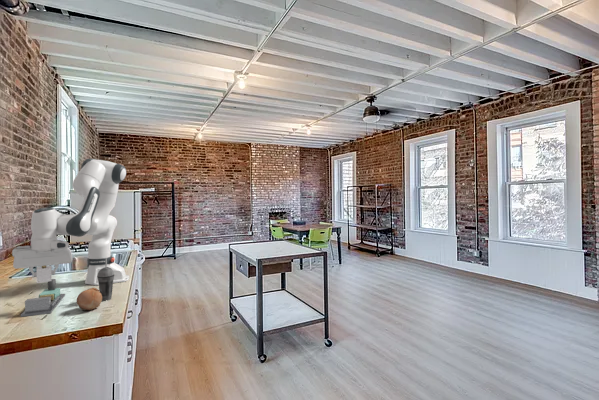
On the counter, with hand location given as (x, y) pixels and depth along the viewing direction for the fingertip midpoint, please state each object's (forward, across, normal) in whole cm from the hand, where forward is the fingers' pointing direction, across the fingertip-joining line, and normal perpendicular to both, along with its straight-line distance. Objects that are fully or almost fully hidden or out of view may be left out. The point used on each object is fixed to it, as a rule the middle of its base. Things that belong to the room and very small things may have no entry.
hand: (44, 275), depth 138 cm
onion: (+15, +16, -13) cm, 25 cm away
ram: (+14, +2, +13) cm, 19 cm away
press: (+15, 0, +5) cm, 16 cm away
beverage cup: (+15, +23, -2) cm, 28 cm away
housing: (+2, 0, 0) cm, 2 cm away
